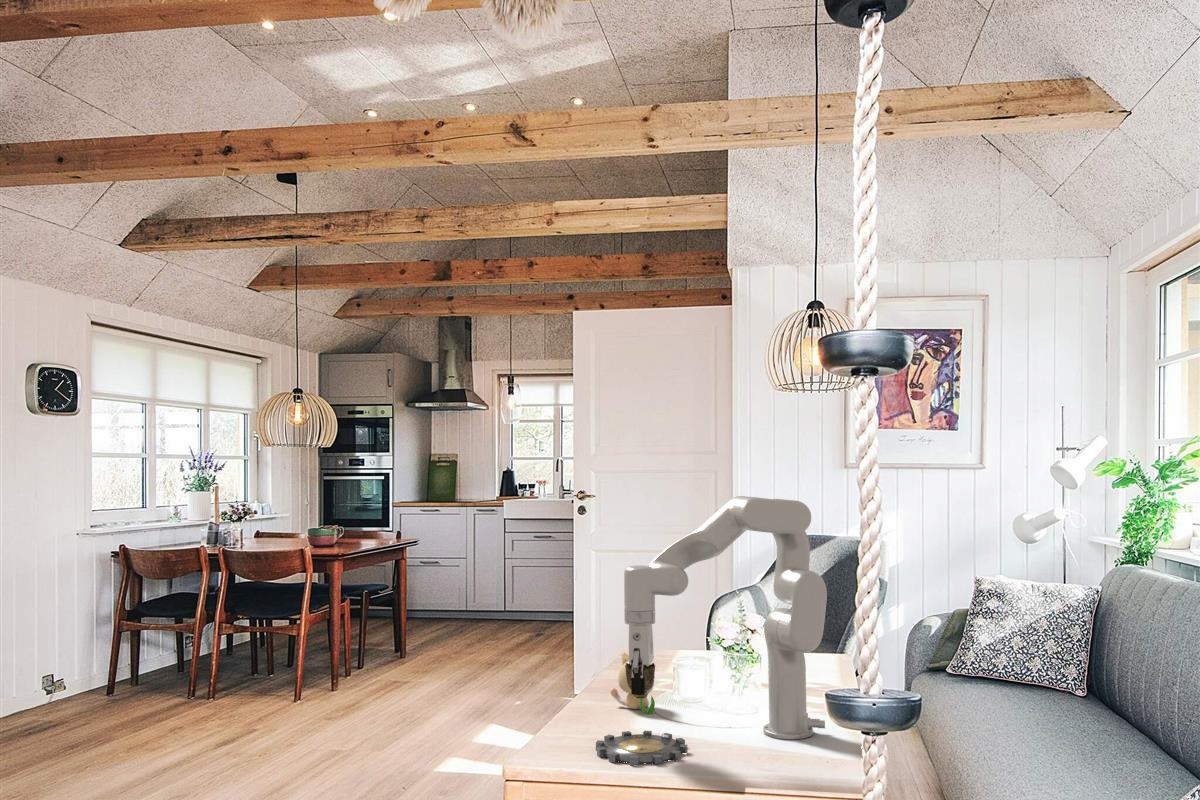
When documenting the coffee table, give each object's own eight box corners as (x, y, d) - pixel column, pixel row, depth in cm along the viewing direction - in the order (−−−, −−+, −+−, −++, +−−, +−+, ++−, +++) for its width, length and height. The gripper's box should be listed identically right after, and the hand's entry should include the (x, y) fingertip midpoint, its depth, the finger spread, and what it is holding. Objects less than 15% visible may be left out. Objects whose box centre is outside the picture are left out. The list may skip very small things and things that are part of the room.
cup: (653, 701, 234) (652, 668, 234) (622, 700, 235) (622, 666, 236) (657, 694, 241) (657, 661, 242) (628, 692, 243) (627, 660, 243)
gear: (691, 740, 247) (691, 732, 247) (681, 768, 225) (681, 760, 225) (605, 736, 251) (605, 728, 251) (587, 763, 229) (587, 755, 229)
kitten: (667, 711, 274) (666, 657, 274) (638, 717, 268) (637, 661, 269) (637, 700, 286) (636, 648, 287) (608, 705, 281) (608, 652, 282)
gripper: (649, 623, 230) (650, 700, 229) (659, 611, 247) (660, 683, 246) (618, 622, 232) (619, 699, 231) (630, 610, 249) (631, 682, 248)
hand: (640, 690), depth 239 cm, fingers closed on cup, 6 cm apart
